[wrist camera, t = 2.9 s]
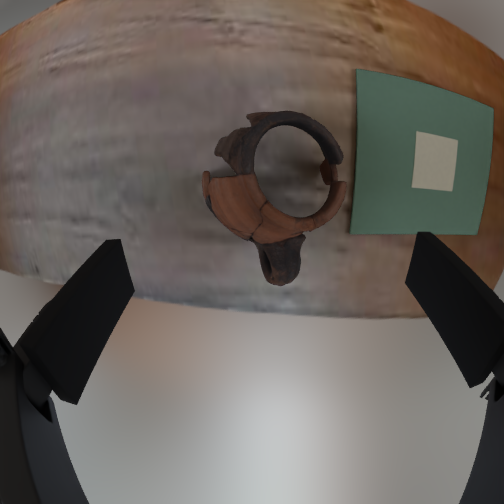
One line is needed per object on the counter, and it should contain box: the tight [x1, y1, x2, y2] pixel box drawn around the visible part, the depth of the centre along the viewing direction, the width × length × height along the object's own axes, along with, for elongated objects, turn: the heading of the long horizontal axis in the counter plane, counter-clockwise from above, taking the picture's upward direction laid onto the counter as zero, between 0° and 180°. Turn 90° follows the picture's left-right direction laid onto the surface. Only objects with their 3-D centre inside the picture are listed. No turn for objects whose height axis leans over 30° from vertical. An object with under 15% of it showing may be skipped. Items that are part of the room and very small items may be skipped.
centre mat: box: [349, 69, 494, 235], centre depth 19 cm, size 16×14×1 cm
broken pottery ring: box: [202, 111, 346, 286], centre depth 19 cm, size 12×10×8 cm
